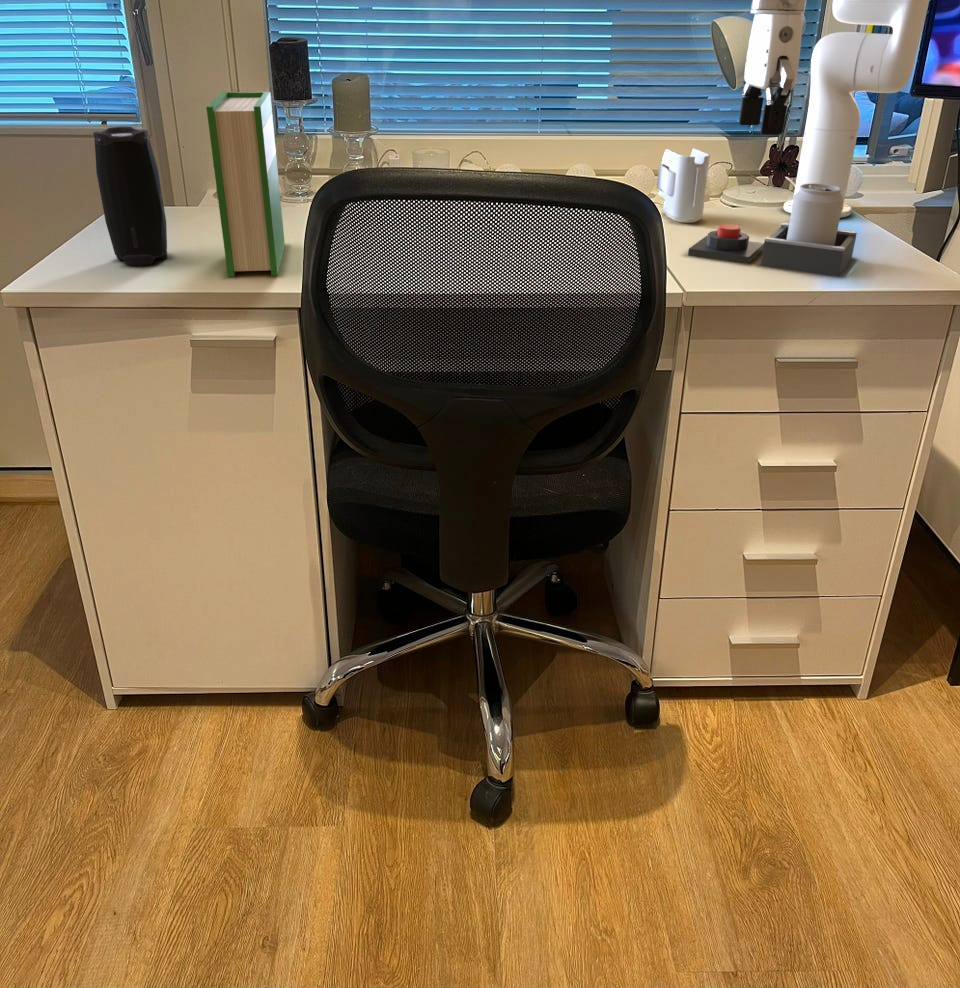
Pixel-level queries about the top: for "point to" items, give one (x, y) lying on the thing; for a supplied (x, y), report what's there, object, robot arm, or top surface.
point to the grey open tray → (808, 253)
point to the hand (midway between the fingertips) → (759, 129)
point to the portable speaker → (131, 195)
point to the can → (815, 214)
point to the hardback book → (247, 180)
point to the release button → (729, 231)
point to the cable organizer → (683, 184)
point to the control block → (726, 248)
